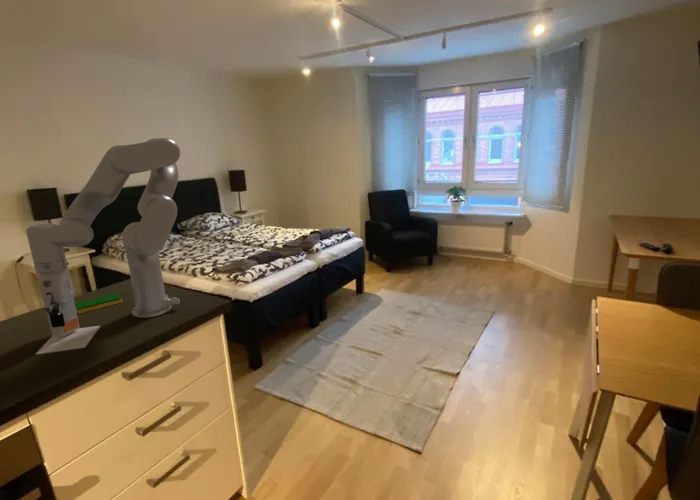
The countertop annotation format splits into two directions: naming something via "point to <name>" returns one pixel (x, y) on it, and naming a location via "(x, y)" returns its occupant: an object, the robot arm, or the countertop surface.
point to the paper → (69, 340)
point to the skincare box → (66, 318)
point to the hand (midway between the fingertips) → (64, 320)
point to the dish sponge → (97, 303)
